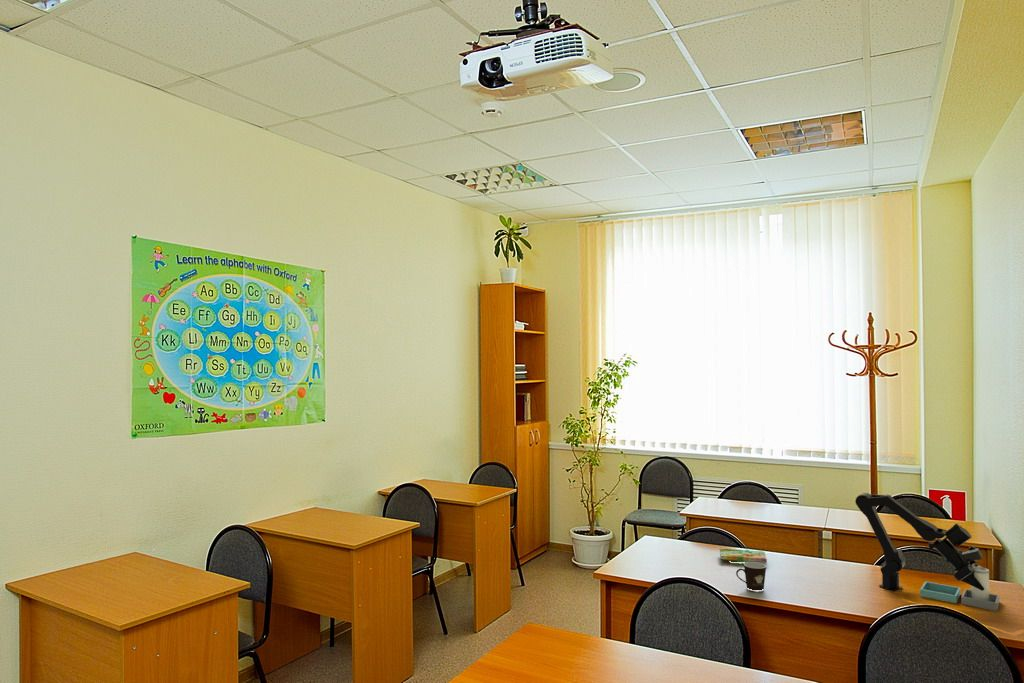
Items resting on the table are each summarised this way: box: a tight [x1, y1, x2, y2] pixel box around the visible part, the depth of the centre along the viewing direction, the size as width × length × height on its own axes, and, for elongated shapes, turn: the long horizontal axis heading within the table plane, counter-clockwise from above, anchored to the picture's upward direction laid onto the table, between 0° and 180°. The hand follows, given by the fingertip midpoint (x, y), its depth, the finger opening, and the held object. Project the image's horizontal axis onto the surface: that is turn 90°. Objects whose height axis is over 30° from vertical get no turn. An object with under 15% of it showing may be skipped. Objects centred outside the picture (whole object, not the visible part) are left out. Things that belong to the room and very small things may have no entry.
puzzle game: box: [719, 548, 768, 565], centre depth 316 cm, size 12×5×20 cm
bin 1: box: [919, 581, 962, 604], centre depth 268 cm, size 12×12×4 cm
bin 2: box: [960, 588, 1001, 612], centre depth 260 cm, size 11×11×4 cm
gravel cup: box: [970, 565, 990, 601], centre depth 260 cm, size 6×6×14 cm
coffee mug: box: [735, 562, 767, 590], centre depth 278 cm, size 12×9×10 cm
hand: (984, 587), depth 259 cm, fingers open, 7 cm apart
